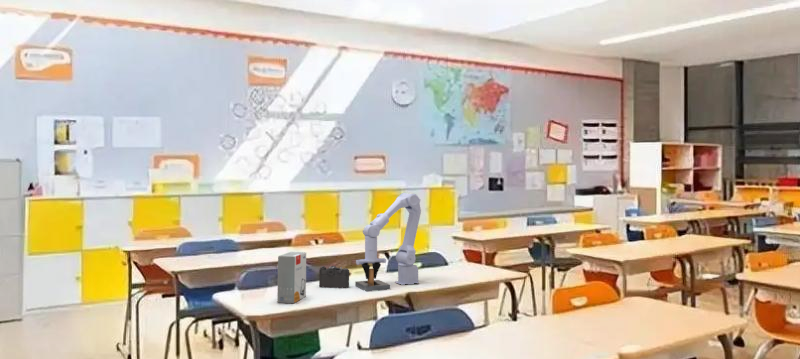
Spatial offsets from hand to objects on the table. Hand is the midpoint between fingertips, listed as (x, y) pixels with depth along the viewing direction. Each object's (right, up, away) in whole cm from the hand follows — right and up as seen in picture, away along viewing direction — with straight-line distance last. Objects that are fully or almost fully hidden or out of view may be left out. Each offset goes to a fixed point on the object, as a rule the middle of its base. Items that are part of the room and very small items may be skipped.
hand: (371, 278), depth 326 cm
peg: (0, -3, 0) cm, 3 cm away
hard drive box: (-33, -5, -29) cm, 44 cm away
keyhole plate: (+1, -4, -2) cm, 4 cm away
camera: (-17, -4, +3) cm, 18 cm away
